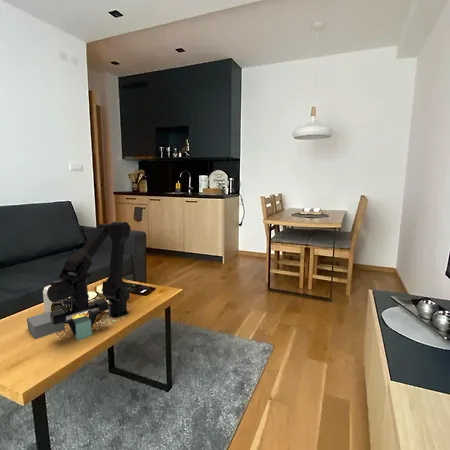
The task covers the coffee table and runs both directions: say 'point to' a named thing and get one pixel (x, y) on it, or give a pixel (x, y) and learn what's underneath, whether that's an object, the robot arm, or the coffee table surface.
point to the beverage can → (47, 300)
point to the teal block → (82, 327)
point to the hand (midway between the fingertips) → (82, 332)
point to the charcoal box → (43, 325)
